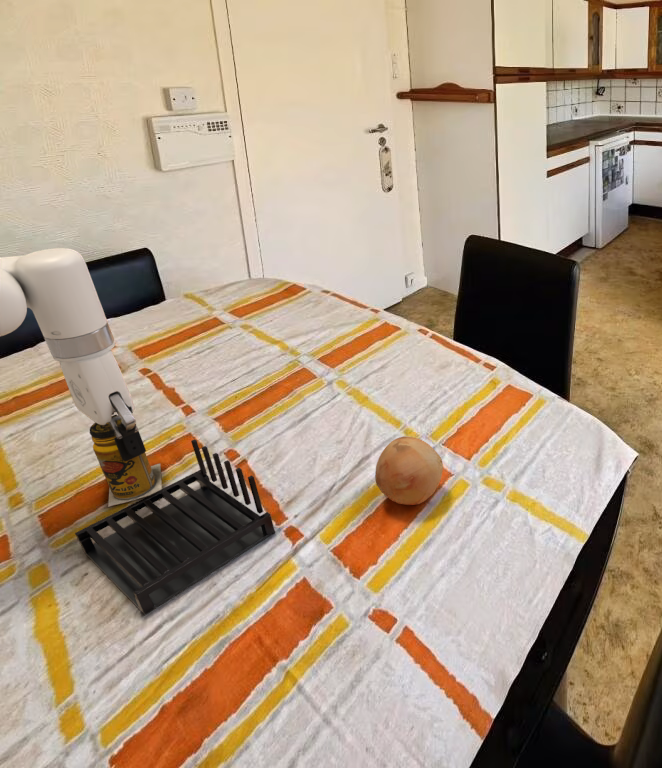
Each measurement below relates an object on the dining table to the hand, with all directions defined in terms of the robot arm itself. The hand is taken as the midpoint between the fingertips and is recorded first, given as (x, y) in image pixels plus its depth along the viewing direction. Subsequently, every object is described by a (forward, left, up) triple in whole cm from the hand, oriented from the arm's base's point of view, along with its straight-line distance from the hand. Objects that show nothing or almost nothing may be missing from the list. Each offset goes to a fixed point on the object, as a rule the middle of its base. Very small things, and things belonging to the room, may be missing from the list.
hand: (124, 447), depth 94 cm
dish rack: (-2, -18, -7) cm, 19 cm away
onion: (+24, -37, -7) cm, 44 cm away
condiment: (0, +1, -7) cm, 8 cm away
